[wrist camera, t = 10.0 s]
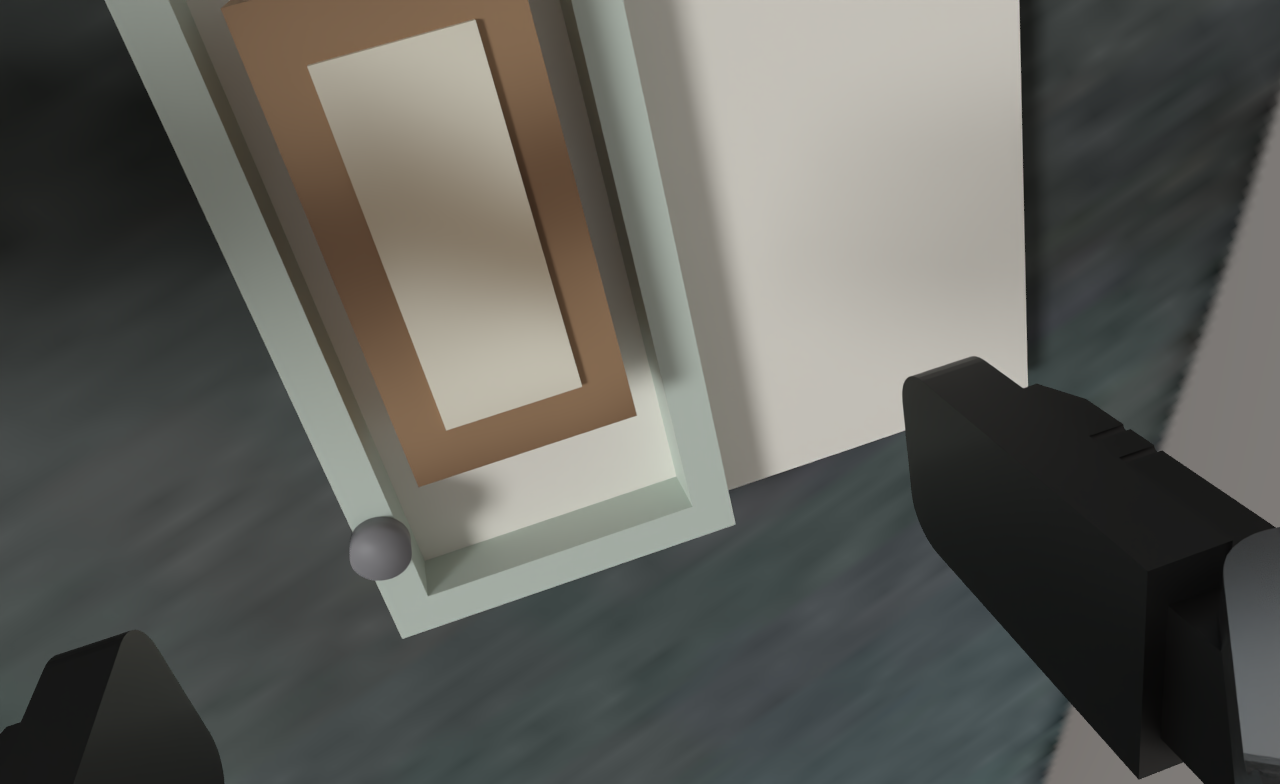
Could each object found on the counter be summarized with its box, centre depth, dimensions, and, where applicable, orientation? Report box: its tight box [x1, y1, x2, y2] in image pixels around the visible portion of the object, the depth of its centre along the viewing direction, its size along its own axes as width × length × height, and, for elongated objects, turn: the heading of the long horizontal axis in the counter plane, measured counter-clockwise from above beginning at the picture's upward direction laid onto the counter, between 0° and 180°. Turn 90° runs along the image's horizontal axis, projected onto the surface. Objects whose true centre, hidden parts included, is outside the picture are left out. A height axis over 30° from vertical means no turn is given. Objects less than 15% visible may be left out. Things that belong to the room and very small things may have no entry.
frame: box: [220, 0, 637, 487], centre depth 20 cm, size 10×5×3 cm, turn 13°
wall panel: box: [105, 0, 1028, 639], centre depth 22 cm, size 20×19×3 cm
